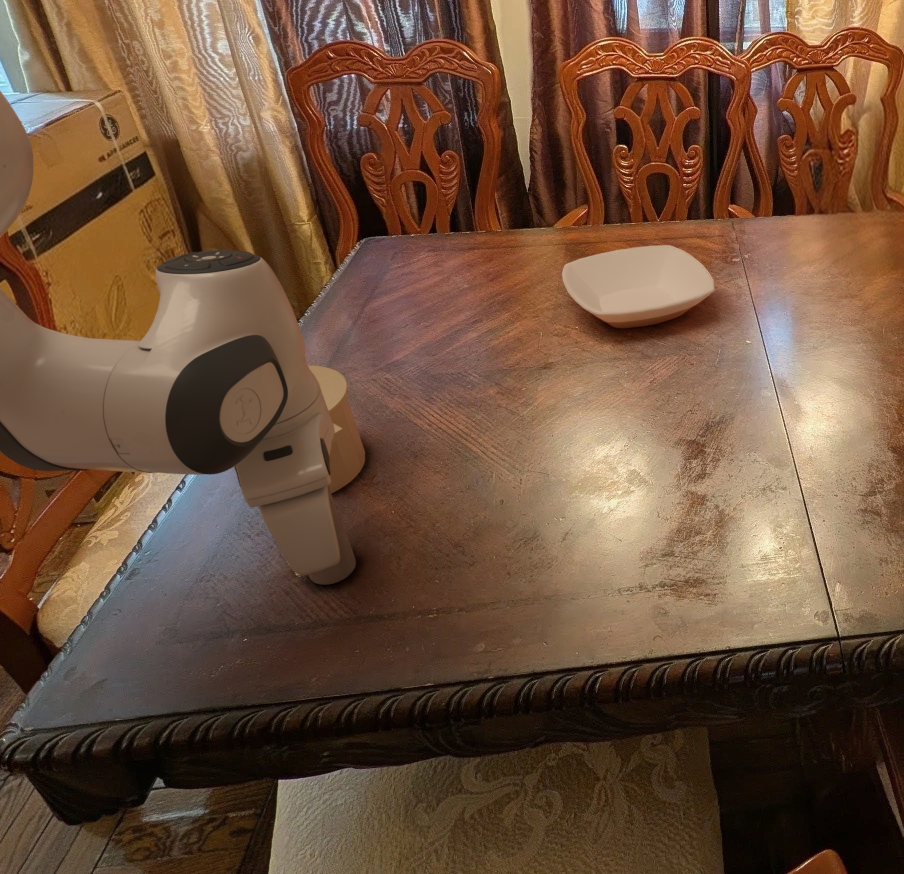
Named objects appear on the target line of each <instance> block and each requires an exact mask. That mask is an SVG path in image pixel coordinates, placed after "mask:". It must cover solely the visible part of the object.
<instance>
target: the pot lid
mask: <svg viewBox="0 0 904 874" xmlns="http://www.w3.org/2000/svg"><path fill="white" fill-rule="evenodd" d="M307 365H308V364H307ZM308 367H309V369H310V370H311V372H312V373H313V374H314V375H315V377H316V378H317V380H318V382H319V385H320V388H321V391H322V394H323V397H324V400H325V402H326V405H327V408H328V411H329V414H331V413H333V412H334V411H335V410H336V409H337V408H338V407H339V406H340V405H341V404H342V403H343V401H344V400H345V398H346V396H347V397H348V393H349V392H348V391H349V386H348V383H347V380H346V378H345V377H344V375H343V374H341V372H339V371H337V370H335V369H333V368H330V367H327V366H321V365H311V364H309V365H308Z"/></svg>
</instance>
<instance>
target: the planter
mask: <svg viewBox="0 0 904 874" xmlns="http://www.w3.org/2000/svg"><path fill="white" fill-rule="evenodd" d="M327 487H328V495H329V501H330V507H331V512H332V517H333V521H334V526H335V531H336V535H337V540H338V545H339V551H340V561H339V563H338V564H337V565H335V566H332V567H330V568H327V569H324V570H321V571H318V572H314V573H311V574H308V575H307V576H308V578H309V579H310V581H312V583H314V584H316V585H320V586H321V585H323V586H325V585H332V584H336V583H339V582H341V581H344V580H345V579H346V578H348V577H349V576H350V575H351V574H352V573H353V572H354V570H355V569H356V566H357V565H356V564H357V560H356V557H355V554H354V550H353V548H352V546H351V543H350V541H349V537H348V535H347V532H346V529H345V526H344V524H343V522H342V519H341V517H340V513H339V510H338V508H337V505H336V503H335V500H334V497H333V495H332V494H333V493H331V492H330V489H329V486H327Z"/></svg>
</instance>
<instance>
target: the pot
mask: <svg viewBox="0 0 904 874" xmlns="http://www.w3.org/2000/svg"><path fill="white" fill-rule="evenodd" d="M330 417H331V420H332V423H333V425H334V430H335V432H334V437H333V439H332V441H331V450H330V456H329V457H330V471H331V474H330V477H331V484H330V485H328V486H329V489H330V492H331V494H333V493H335V492H337V491H339V490H341V489H342V488H344V487H345V486H347V485H348V484H350V483H351V482H352V481H353V480H354V479H355V478H356V477H357V476H358V475H359V474H360V472H361V471H362V470H363V467H364V465H365V464H366V463H365V462H366V451H365V448H364V444H363V441H362V439H361V436H360V432H359V429H358V427H357V426H358V425H357V423H356V421H355V420H356V419H355V417H354V413H353V410H352V408H351V405H350V402H349V399H348V395H347V396H346V398H345V400H344V401H343V403H342V404H341V405H340V406H339V407H338V408H337V409H336V410H335V411H334V412H333V413H331V414H330Z"/></svg>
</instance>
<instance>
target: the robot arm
mask: <svg viewBox="0 0 904 874" xmlns="http://www.w3.org/2000/svg"><path fill="white" fill-rule="evenodd" d="M33 179H34V151H33V145H32V141H31V138H30V136H29V134H28V132H27V130H26V128H25V126H24V125H23V122H22V121H21V119H20V117H19V116H18V114H17V112H16V111H15V109H14V108H13V106H12V105H11V103H10V102H9V100H8V99H7V98H6V96H5V95H4V94H3V92H2V91H1V90H0V239H1V238H2V237H3V236H4V235H5V234H6V233H7V232H8V230H9V229H10V228H11V227H12V226H13V224H14V223H15V221H16V220H17V219H18V218H19V216H20V214H21V212H22V211H23V210H24V208H25V205H26V203H27V202H28V198H29V196H30V193H31V189H32V186H33ZM155 282H156V287H157V291H158V294H159V302H158V307H157V311H156V313H155V316H154V318H153V321H152V322H151V325H150V327H149V328H148V330H147V332H146V333H145V334H144V336H143V337H142V338H141V339H140V340H133V339H113V338H110V339H109V338H93V337H86V336H79V335H75V334H69V333H65V332H61V331H57V330H53V329H50V328H47V327H44V326H42V325H40V324H38V323H36V322H35V321H33V320H32V319H31V318H29V316H27V314H26V313H25V312H24V311H23V310H22V309H21V308H20V307H19V306H18V305H17V304H16V303H15V302H14V300H12V299H11V298H10V296H9V295H8V294H7V293H6V292H5V291H4V290H3V289H2V288H1V287H0V452H1V453H2V455H4V456H5V457H7V458H8V459H9V460H11V461H12V462H14V463H16V464H17V465H19V466H22V467H24V468H27V469H30V470H35V471H40V472H75V471H76V472H77V471H79V472H81V471H82V472H83V471H108V472H109V471H110V472H124V473H125V472H126V473H138V474H139V473H140V474H142V473H143V474H169V475H172V474H173V475H191V476H192V475H193V476H199V475H200V476H201V475H209V476H210V475H218V474H222V473H224V472H227V471H228V470H231V469H232V468H233V469H234V470H235V474H236V477H237V481H238V484H239V487H240V490H241V493H242V495H243V498H244V500H245V502H246V504H247V506H248V507H249V508H257V507H258V510H259V512H260V514H261V516H262V519H263V521H264V523H265V526H266V527H267V529H268V531H269V532H270V535H271V536H272V538H273V541H275V543H276V545H277V547H278V548H279V551H280V552H281V554H282V556H283V557H284V559H285V560H286V562H287V564H288V566H289V567H290V568H291V570H292V571H293V572H294V573H295V574H297V575H299V576H308V574H311V573H314V572H318V571H321V570H324V569H327V568H330V567H332V566H335V565H337V564H338V563H339V561H340V551H339V545H338V540H337V535H336V531H335V526H334V521H333V517H332V512H331V507H330V501H329V495H328V487H327V486H328V485H330V484H331V477H330V474H331V471H330V457H329V456H330V450H331V441H332V439H333V437H334V432H335V430H334V425H333V423H332V420H331V417H330V414H329V411H328V408H327V405H326V402H325V400H324V397H323V394H322V391H321V388H320V385H319V382H318V380H317V378H316V377H315V375H314V374H313V373H312V372H311V370H310V369H309V367H308V363H307V360H306V344H305V343H306V342H305V340H304V336H303V333H302V331H301V328H300V325H299V322H298V320H297V317H296V315H295V312H294V310H293V307H292V305H291V303H290V300H289V298H288V296H287V294H286V292H285V290H284V288H283V286H282V283H281V282H280V280H279V279H278V276H277V275H276V273H275V271H274V270H273V269H272V267H271V266H270V265H269V264H268V262H267V261H266V260H265V259H264V258H262V257H261V256H259V255H258V254H254V253H252V252H250V251H245V250H244V251H243V250H231V249H228V250H227V249H209V250H205V251H192V252H188V253H184V254H180V255H177V256H174V257H170V258H169V259H168V258H167V259H166V260H164V261H163V262H162V263H160V264H159V265H158V266H156V268H155Z"/></svg>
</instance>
